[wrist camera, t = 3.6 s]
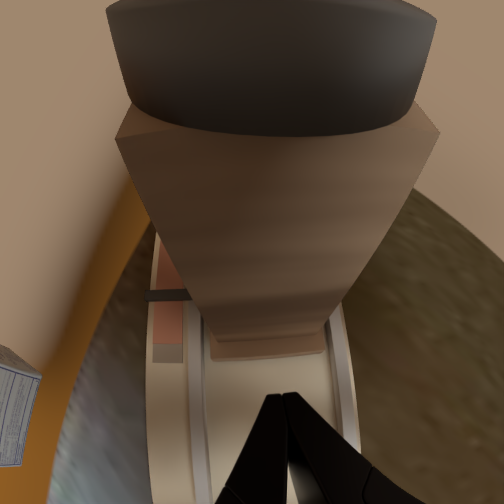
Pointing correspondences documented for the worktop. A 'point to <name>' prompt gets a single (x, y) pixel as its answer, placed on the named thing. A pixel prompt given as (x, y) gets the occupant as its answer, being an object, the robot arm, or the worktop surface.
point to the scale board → (224, 395)
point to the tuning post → (271, 152)
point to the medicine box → (15, 405)
